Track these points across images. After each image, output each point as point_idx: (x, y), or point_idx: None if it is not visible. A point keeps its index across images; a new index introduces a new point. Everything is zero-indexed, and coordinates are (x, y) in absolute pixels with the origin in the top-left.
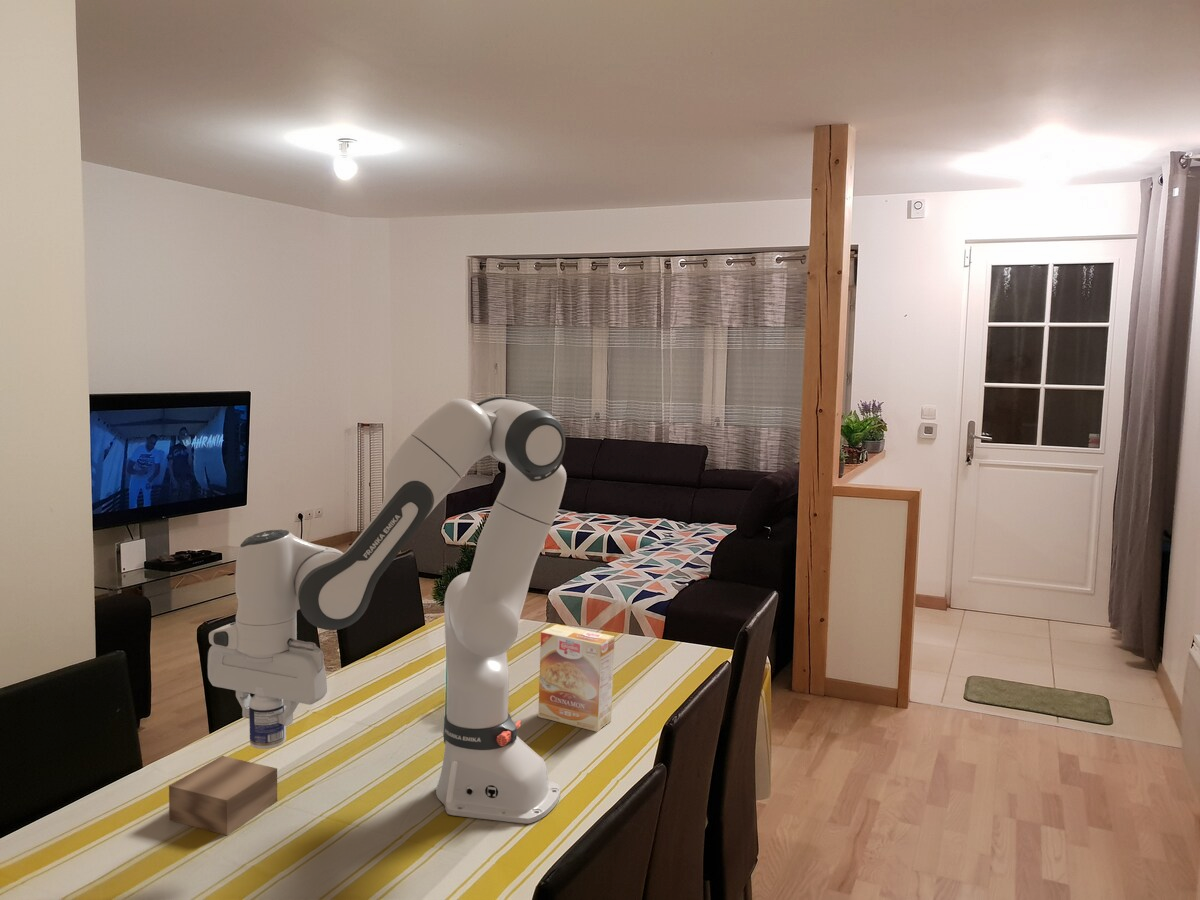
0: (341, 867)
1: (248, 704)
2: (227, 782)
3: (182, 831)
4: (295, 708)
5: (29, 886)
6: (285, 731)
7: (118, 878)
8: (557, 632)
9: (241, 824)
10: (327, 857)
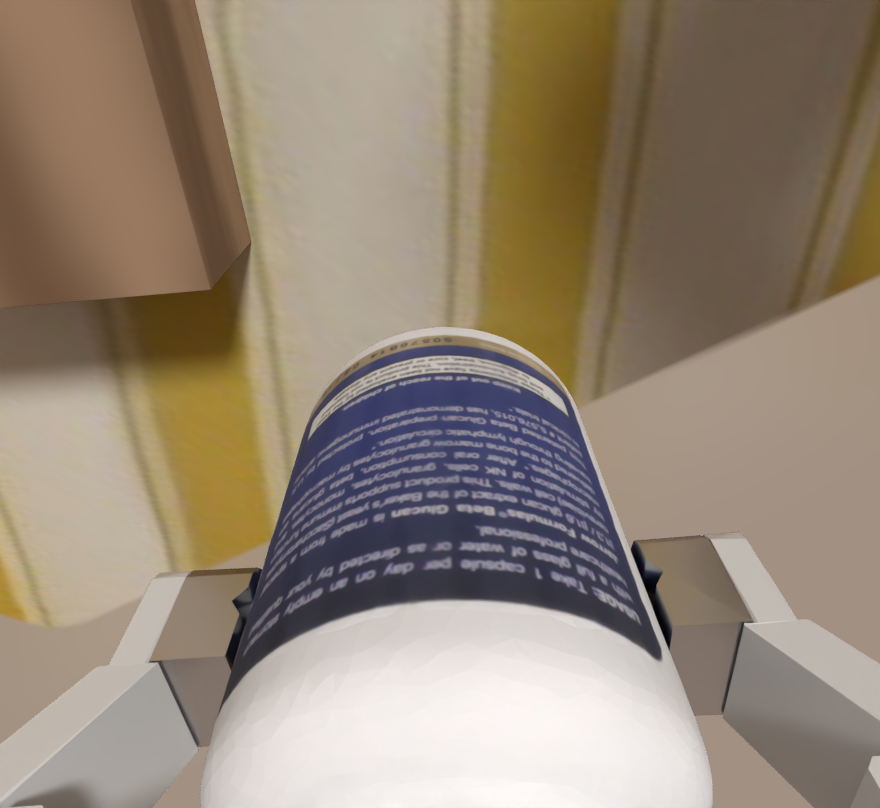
0: (764, 201)
1: (166, 730)
2: (45, 163)
3: None
4: (866, 659)
5: (73, 612)
6: (588, 440)
7: (205, 521)
8: None
9: (230, 163)
10: (682, 175)
